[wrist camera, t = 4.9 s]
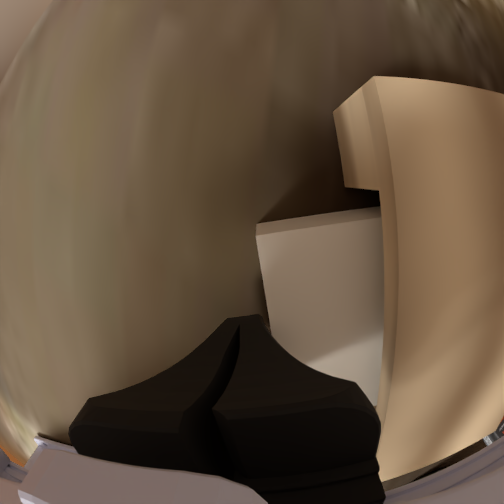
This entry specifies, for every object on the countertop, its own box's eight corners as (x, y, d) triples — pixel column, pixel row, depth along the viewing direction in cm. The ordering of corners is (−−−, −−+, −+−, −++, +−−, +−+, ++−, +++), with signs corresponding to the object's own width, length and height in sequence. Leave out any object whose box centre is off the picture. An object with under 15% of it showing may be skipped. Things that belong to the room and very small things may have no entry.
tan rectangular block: (350, 427, 14) (369, 485, 9) (332, 112, 10) (373, 76, 6) (463, 389, 13) (495, 430, 9) (479, 116, 10) (540, 105, 5)
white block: (282, 387, 13) (285, 423, 11) (256, 223, 11) (255, 235, 9) (397, 363, 13) (416, 393, 10) (399, 203, 11) (431, 210, 8)
